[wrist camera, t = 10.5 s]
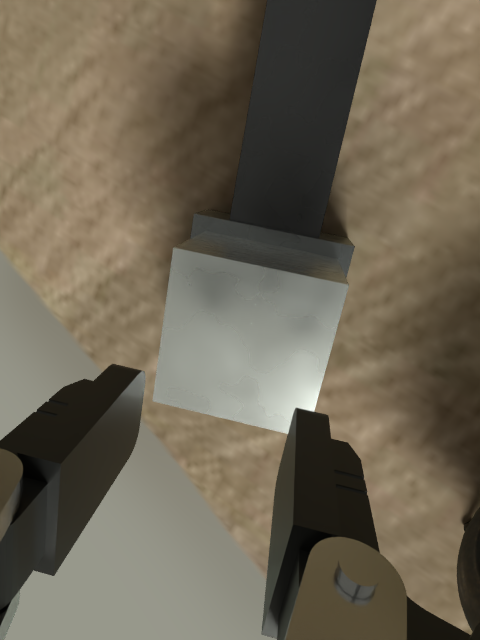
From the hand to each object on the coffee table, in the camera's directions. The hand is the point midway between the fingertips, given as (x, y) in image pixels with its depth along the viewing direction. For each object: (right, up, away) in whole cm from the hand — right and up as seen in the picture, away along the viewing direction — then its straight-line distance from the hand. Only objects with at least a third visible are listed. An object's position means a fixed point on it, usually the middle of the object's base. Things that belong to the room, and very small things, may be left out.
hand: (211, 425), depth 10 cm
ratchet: (+3, +9, +11) cm, 14 cm away
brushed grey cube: (+2, +3, +10) cm, 10 cm away
